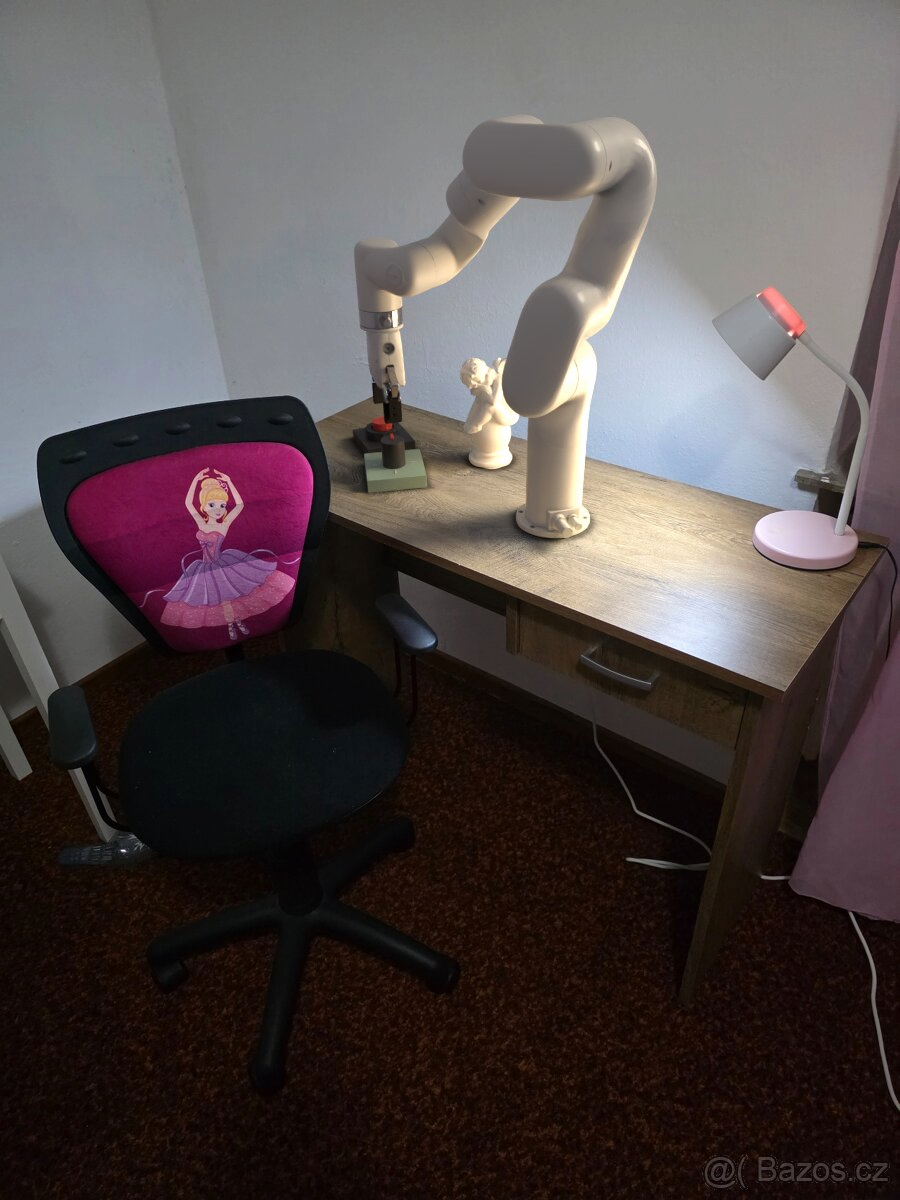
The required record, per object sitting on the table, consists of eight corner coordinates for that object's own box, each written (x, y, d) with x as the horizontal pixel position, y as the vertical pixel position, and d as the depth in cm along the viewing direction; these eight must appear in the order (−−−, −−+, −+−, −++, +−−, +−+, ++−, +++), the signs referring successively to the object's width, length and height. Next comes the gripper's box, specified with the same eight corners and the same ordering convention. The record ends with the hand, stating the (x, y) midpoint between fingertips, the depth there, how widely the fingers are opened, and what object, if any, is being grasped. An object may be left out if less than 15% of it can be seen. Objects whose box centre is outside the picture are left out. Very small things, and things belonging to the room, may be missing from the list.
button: (395, 430, 163) (394, 422, 162) (376, 433, 162) (375, 425, 161) (388, 423, 166) (388, 415, 165) (370, 426, 165) (369, 418, 164)
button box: (415, 450, 163) (414, 432, 161) (368, 459, 160) (367, 441, 158) (398, 431, 172) (396, 413, 169) (353, 439, 169) (351, 421, 166)
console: (427, 487, 150) (426, 474, 148) (368, 492, 149) (367, 480, 147) (420, 460, 159) (419, 448, 158) (365, 465, 158) (363, 452, 157)
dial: (406, 467, 151) (405, 441, 148) (383, 469, 150) (381, 443, 147) (404, 458, 154) (402, 432, 151) (381, 460, 154) (379, 434, 151)
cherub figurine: (457, 466, 157) (454, 354, 144) (473, 440, 166) (472, 334, 154) (518, 472, 154) (520, 359, 141) (531, 446, 163) (534, 337, 151)
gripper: (414, 329, 131) (418, 427, 141) (391, 302, 145) (396, 393, 154) (369, 334, 129) (377, 433, 139) (350, 306, 143) (358, 398, 153)
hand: (387, 412), depth 147 cm, fingers open, 9 cm apart
